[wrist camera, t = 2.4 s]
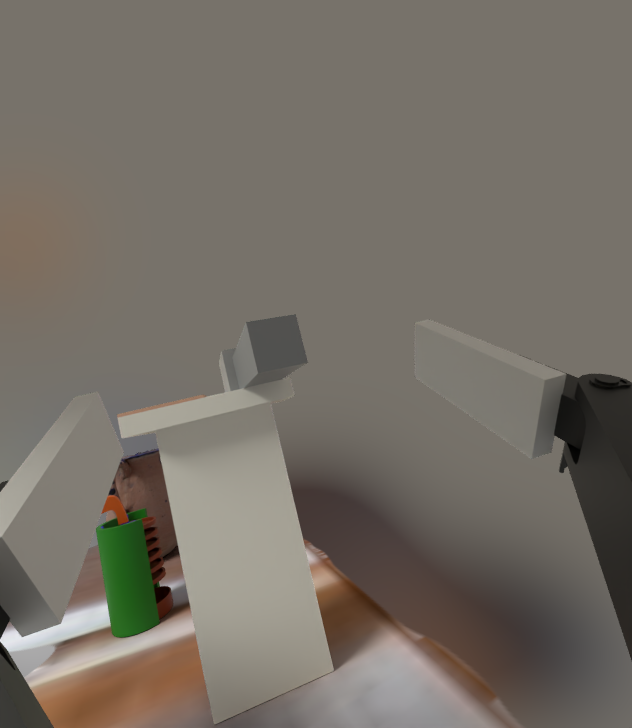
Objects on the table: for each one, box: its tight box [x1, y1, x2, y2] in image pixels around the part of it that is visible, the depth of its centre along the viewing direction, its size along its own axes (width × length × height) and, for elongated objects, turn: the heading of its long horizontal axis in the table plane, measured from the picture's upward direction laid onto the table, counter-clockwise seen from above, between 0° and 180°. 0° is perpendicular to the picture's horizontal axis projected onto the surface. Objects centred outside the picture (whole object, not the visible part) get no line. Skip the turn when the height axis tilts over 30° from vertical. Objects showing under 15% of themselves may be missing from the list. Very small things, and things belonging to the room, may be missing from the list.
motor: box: [96, 495, 173, 637], centre depth 56 cm, size 10×9×20 cm
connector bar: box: [219, 315, 307, 392], centre depth 37 cm, size 6×22×5 cm, turn 18°
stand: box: [117, 378, 334, 725], centre depth 39 cm, size 17×12×30 cm
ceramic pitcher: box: [106, 448, 178, 557], centre depth 82 cm, size 18×21×25 cm
